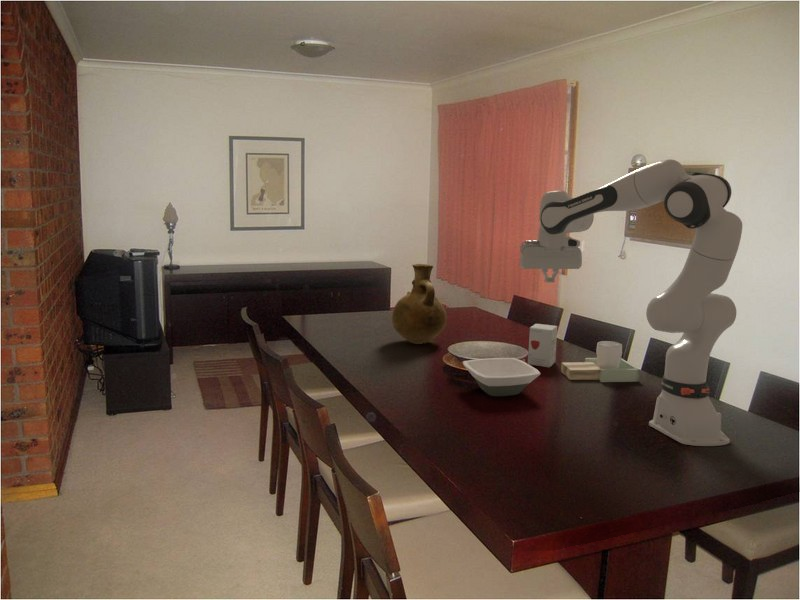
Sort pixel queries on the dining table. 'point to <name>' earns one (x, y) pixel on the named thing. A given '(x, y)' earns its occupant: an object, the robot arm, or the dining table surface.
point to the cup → (608, 354)
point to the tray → (618, 372)
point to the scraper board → (580, 370)
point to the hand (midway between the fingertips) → (549, 282)
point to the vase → (420, 309)
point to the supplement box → (542, 345)
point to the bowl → (501, 375)
